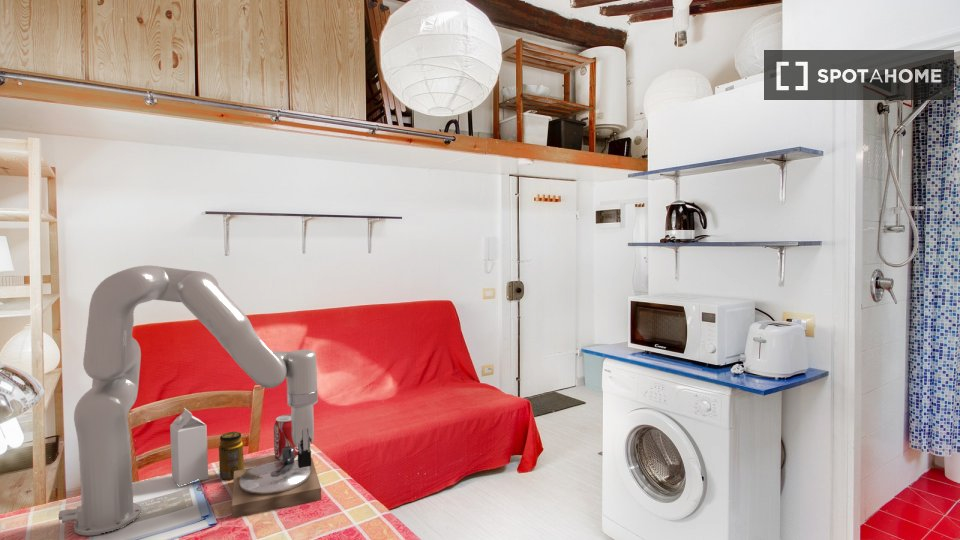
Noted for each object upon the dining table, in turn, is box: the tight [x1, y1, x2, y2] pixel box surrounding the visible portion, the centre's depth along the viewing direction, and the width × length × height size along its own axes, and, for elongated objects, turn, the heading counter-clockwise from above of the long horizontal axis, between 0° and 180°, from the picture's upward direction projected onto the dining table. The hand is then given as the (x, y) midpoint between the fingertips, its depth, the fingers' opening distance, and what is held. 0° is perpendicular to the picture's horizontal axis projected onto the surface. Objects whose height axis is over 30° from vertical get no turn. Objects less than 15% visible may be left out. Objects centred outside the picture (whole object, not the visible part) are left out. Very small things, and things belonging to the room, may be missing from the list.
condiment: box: [218, 431, 245, 481], centre depth 139 cm, size 7×8×12 cm
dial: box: [240, 446, 310, 495], centre depth 131 cm, size 17×17×5 cm
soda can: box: [273, 414, 299, 461], centre depth 151 cm, size 7×7×12 cm
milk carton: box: [169, 407, 209, 486], centre depth 137 cm, size 7×7×19 cm
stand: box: [231, 457, 322, 519], centre depth 131 cm, size 20×20×4 cm
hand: (304, 465), depth 134 cm, fingers closed
